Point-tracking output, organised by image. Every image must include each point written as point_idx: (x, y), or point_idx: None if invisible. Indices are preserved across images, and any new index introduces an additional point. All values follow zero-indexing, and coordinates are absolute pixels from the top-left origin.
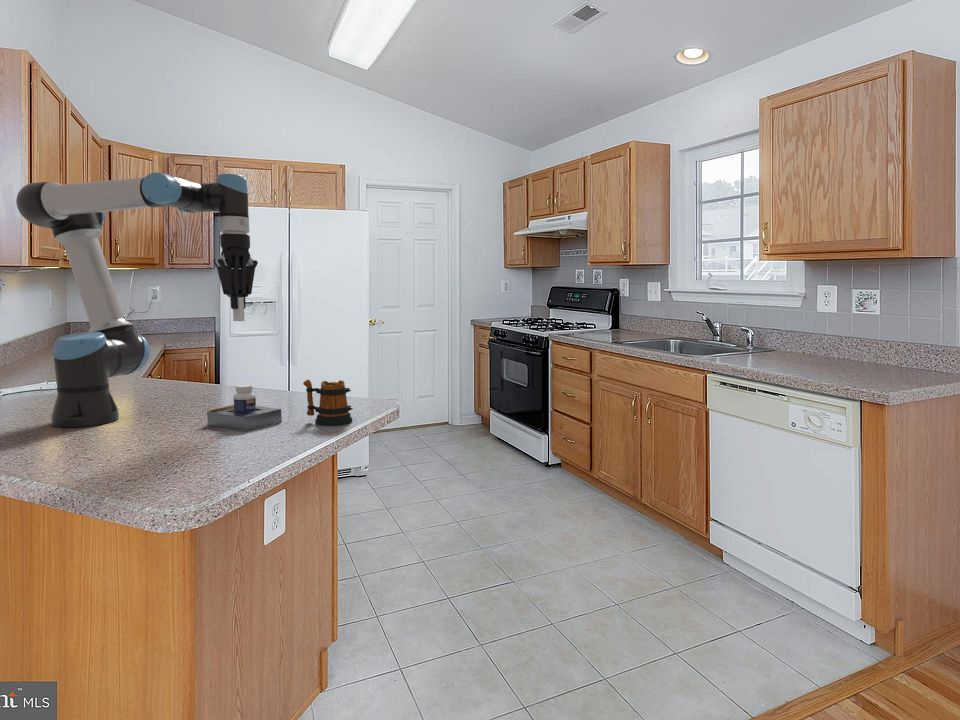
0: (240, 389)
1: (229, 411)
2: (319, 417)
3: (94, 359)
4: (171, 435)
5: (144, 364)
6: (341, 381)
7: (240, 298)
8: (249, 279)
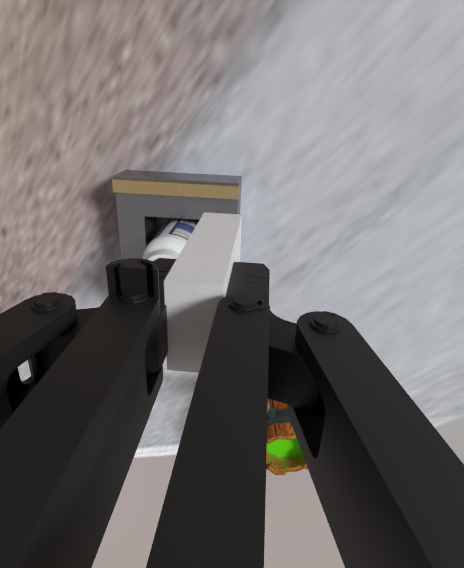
0: None
1: (156, 216)
2: None
3: None
4: (22, 182)
5: None
6: (305, 465)
7: (187, 363)
8: (346, 563)
